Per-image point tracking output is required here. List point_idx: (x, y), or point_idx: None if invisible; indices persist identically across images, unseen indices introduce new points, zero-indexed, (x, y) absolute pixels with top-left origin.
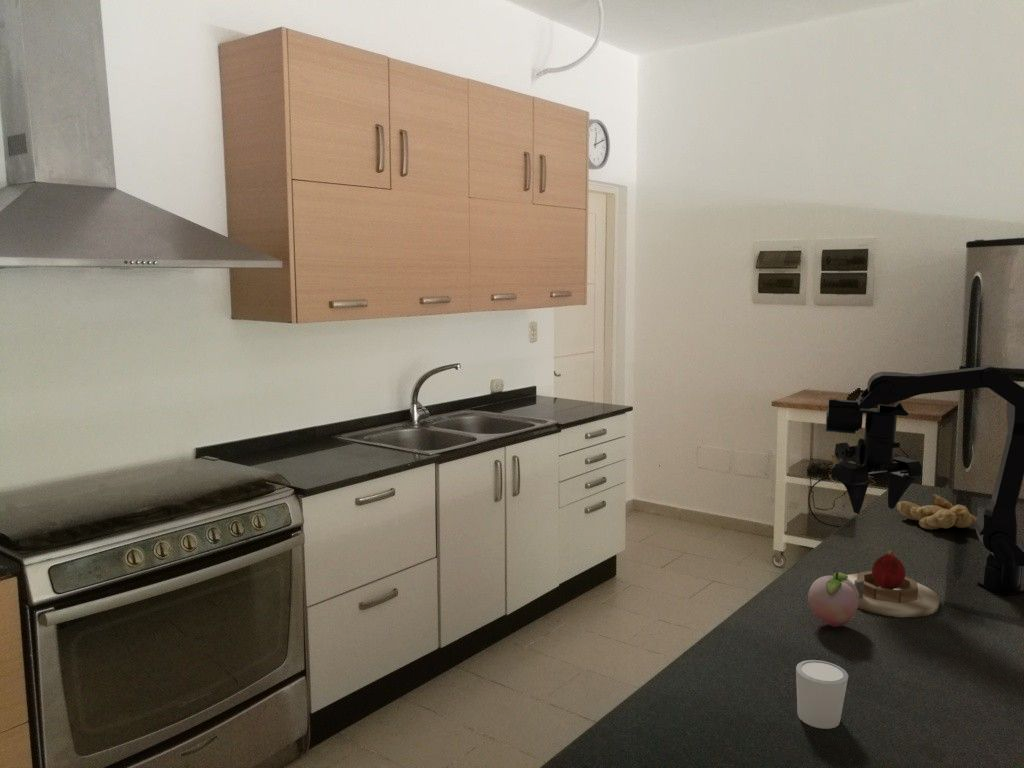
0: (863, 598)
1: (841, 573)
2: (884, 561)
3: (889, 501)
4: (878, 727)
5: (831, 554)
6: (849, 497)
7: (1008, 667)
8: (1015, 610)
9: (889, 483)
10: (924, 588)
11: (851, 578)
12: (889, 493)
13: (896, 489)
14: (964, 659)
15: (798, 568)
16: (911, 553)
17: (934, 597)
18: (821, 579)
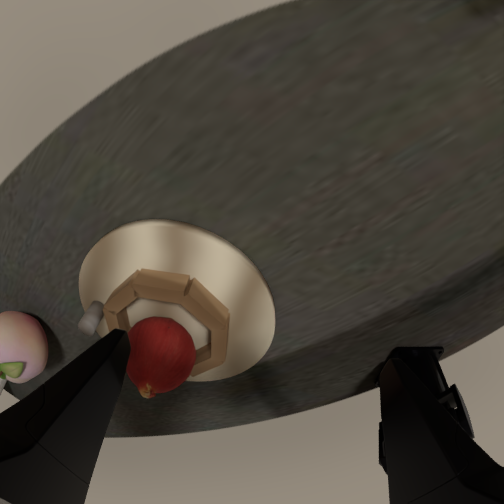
0: (103, 316)
1: (9, 372)
2: (129, 377)
3: (396, 392)
4: (25, 394)
5: (291, 45)
6: (47, 380)
7: (167, 432)
8: (327, 404)
9: (449, 476)
10: (259, 346)
11: (145, 245)
12: (419, 426)
13: (406, 479)
14: (137, 414)
15: (100, 99)
16: (487, 184)
17: (235, 369)
18: None
